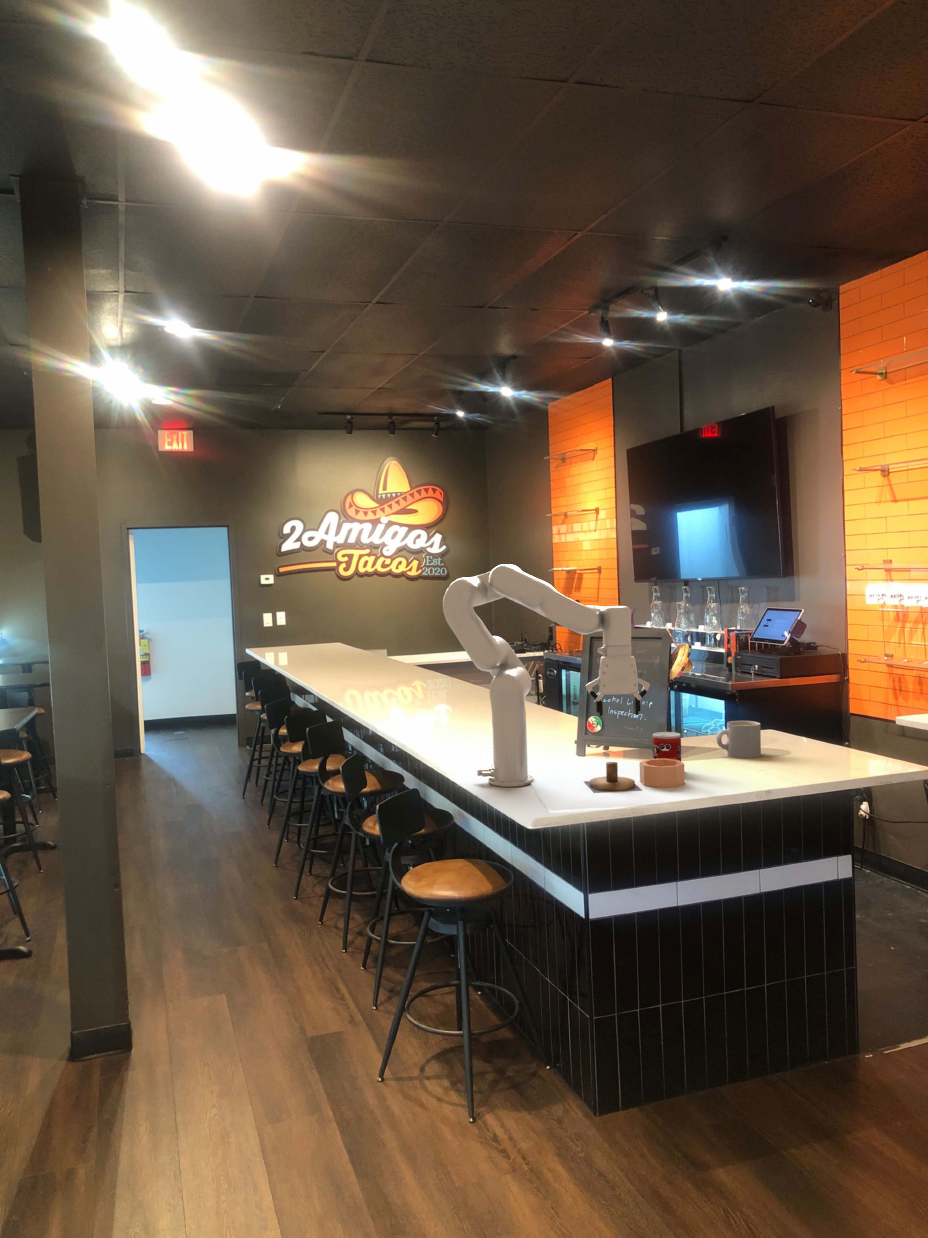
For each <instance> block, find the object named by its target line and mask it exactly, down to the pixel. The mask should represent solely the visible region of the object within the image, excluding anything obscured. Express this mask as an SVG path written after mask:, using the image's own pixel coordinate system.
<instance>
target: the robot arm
mask: <svg viewBox="0 0 928 1238" xmlns="http://www.w3.org/2000/svg"><path fill="white" fill-rule="evenodd" d="M503 598H506V599H508V600H510V601H513V602H515V603H516V604H518V605H519V604H520V606H523V607H525V608H527V609H529V610H531V611H533V612H536V613H537V614H539V615H540V616H542V617H544V618H547V619H548V620H550V621H552V622H554V623H556V624H558V625H560V626H561V627H564V628H566V629H568V630H570V631H573V632H575V633H577V634H580V635H586V636H587V635H590V634H593V633H596V632H602V647H601V646H600V647H598V648H597V653H598V654H602V656H601V657H600V661H599V667H598V668H599V669H598V677H597V678H595V679H594V680H592V681H590V682H588V683H587V684H585V688H586V690H587V692H588V694H589V695H590V696H591V697H592V698H593V699H594V700H595V711H596V712H595V713H598V716H599V717H602V716H604V715H603V713H604V712H603V708H604V707H603V704H604V703H603V701H602V699H603V697H604V696H605V695H632V696H633V697H634V698H633V700H632V701H633V702H632V704H633V709H632V710H633V714H634V715H635V716H638V715H639V712H641V701H642V699H643V698H644V696H645V695H647V693H648V691H649V689H650V686H651V684H650V682H648V681H646V680H643V679H641V678H639V677H638V667H637V664H636V663H637V662H636V658H635V656H633V655H632V616H631V615H632V611H631V609H630V607H629V606H626V605H609V606H599V605H591V604H590V605H589V604H588V605H584V604H582V603H580V602H577V601H576V600H574V599H571V598H569V597H568V596H566V595H564V594H562V593H560V592H559V591H557V589H555V588H554V586H552V584H550V583H548V582H546V581H544V580H542V579H539V578H537V577H535V576H533V575H531V574H529V573H526V572H524V571H523V570H522V569H521V568H520V567H518V566H517V565H515V564H506V563H505V564H504V563H503V564H499V565H497V566H495V567H494V568H493V569H491V571H490V570H489V571H488V572H486V573H482V574H478V575H475V576H471V577H470V576H469V577H460V578H457V579H456V580H454V581H453V582H451V583H450V585H449V586H448V588H447V589H446V591H445V592H444V596H443V598H442V599H443V600H442V612H443V614H444V618H445V621H446V623H447V624H448V626H449V628H450V629H451V631H452V632H453V633H454V635H455V637H456V639H457V640H458V641H459V643H460V645H461V646H462V648H463V649H464V651H465V652H466V653H467V655H468V656H469V658H470V660H471V661H472V663H473V664H474V666H475V667H476V668H477V669H478V670H480V671H482V672H489V674H490V675H491V676H492V679H491V682H490V685H489V699H490V707H491V723H492V724H491V726H492V750H493V751H492V752H493V756H492V757H493V764H491V767H488V768H485V769H484V768H477V770H476V771H477V774H476V775H477V777H482V778H483V777H485V778H486V777H488V783H489V785H492V786H496V787H503V788H505V787H506V788H509V787H510V788H513V787H514V788H515V787H523V786H524V787H525V786H528V785H530V784H531V783H532V782H533V781H534V777H533V775H530V774H529V771H528V767H529V766H528V738H527V737H528V735H527V734H528V732H527V712H526V703H525V698H526V696H527V695H528V694H529V692H530V691H531V689H532V678H531V675H530V674H529V672H528V670H527V669H526V667H525V665H524V664H523V663H522V661H521V659H519V658H520V657H518V655H517V654H516V653H515V650H513V648H512V647H511V645H510V644H509V643H508V641H506V640H505V639H504V638H502V637H500V636H497V635H492V633H491V632H490V631H489V630H488V628H487V627H486V625H485V623H484V622H483V620H482V619H481V618H480V617H479V615H478V614H477V613H476V612H475V609H474V607H480V606H482V605H485V604H488V603H491V602H495V601H497V600H500V599H503ZM639 684H640V685H642V688H641V690H640V691H639ZM596 685H598V692H597V693H596V692H595V691H594V690H593V688H594V687H595V686H596Z"/></svg>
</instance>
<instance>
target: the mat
mask: <svg viewBox="0 0 928 1238" xmlns="http://www.w3.org/2000/svg"><path fill="white" fill-rule="evenodd" d="M583 783H584V784H585V785H586V786H587V787H588V788H589V789H590V790H591V792H592V793H594V794H595V793H598V794H600V793H601V794H602V793H617V792H620V793H621V792H623V793H624V792H639V791H640V792H642V791H643V789H642V788H640V787H639V785H638V784H636V783H635V787H634V788H632V789H629V790H624V791H603V790H597V789H593V788H591V787H590V780H584V781H583Z"/></svg>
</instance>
